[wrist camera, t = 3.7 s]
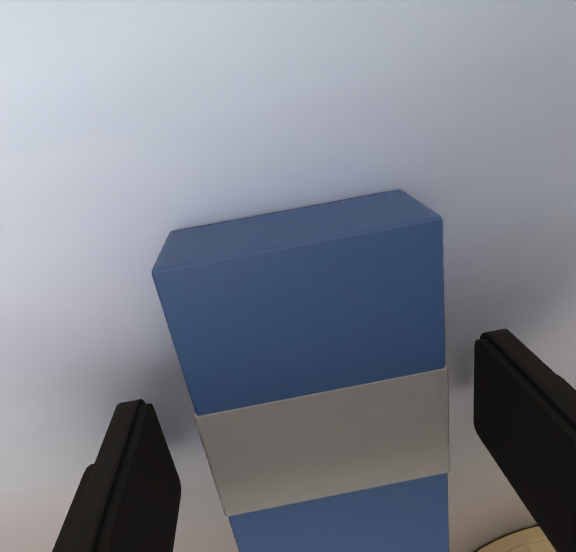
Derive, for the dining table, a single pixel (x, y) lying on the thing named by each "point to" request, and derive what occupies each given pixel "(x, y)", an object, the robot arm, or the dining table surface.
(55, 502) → the dining table surface
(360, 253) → the block
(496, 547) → the beige cup
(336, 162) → the dining table surface
